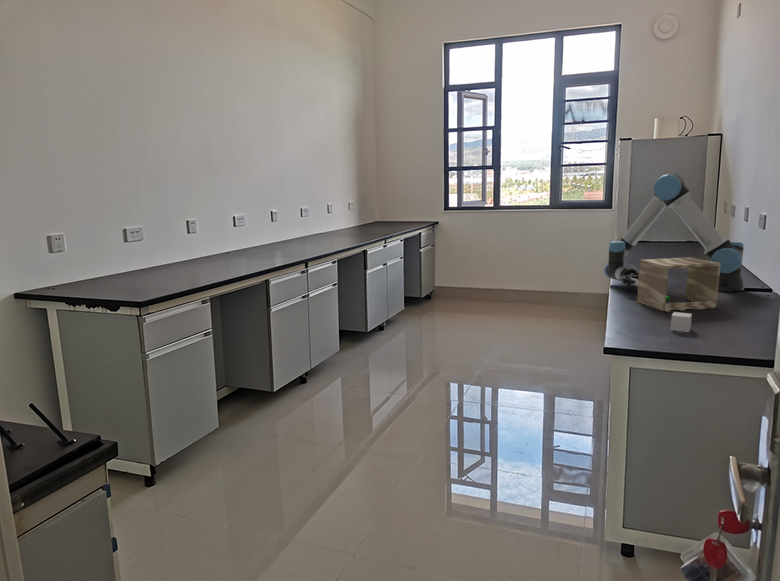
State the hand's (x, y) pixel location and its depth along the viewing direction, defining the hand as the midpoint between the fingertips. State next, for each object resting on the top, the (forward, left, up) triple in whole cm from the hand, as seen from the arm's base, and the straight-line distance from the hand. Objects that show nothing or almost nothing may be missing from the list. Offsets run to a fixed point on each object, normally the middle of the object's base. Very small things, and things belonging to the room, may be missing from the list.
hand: (653, 282), depth 259 cm
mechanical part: (-1, +1, -7) cm, 8 cm away
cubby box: (0, +15, -7) cm, 17 cm away
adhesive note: (+24, +51, -7) cm, 57 cm away
